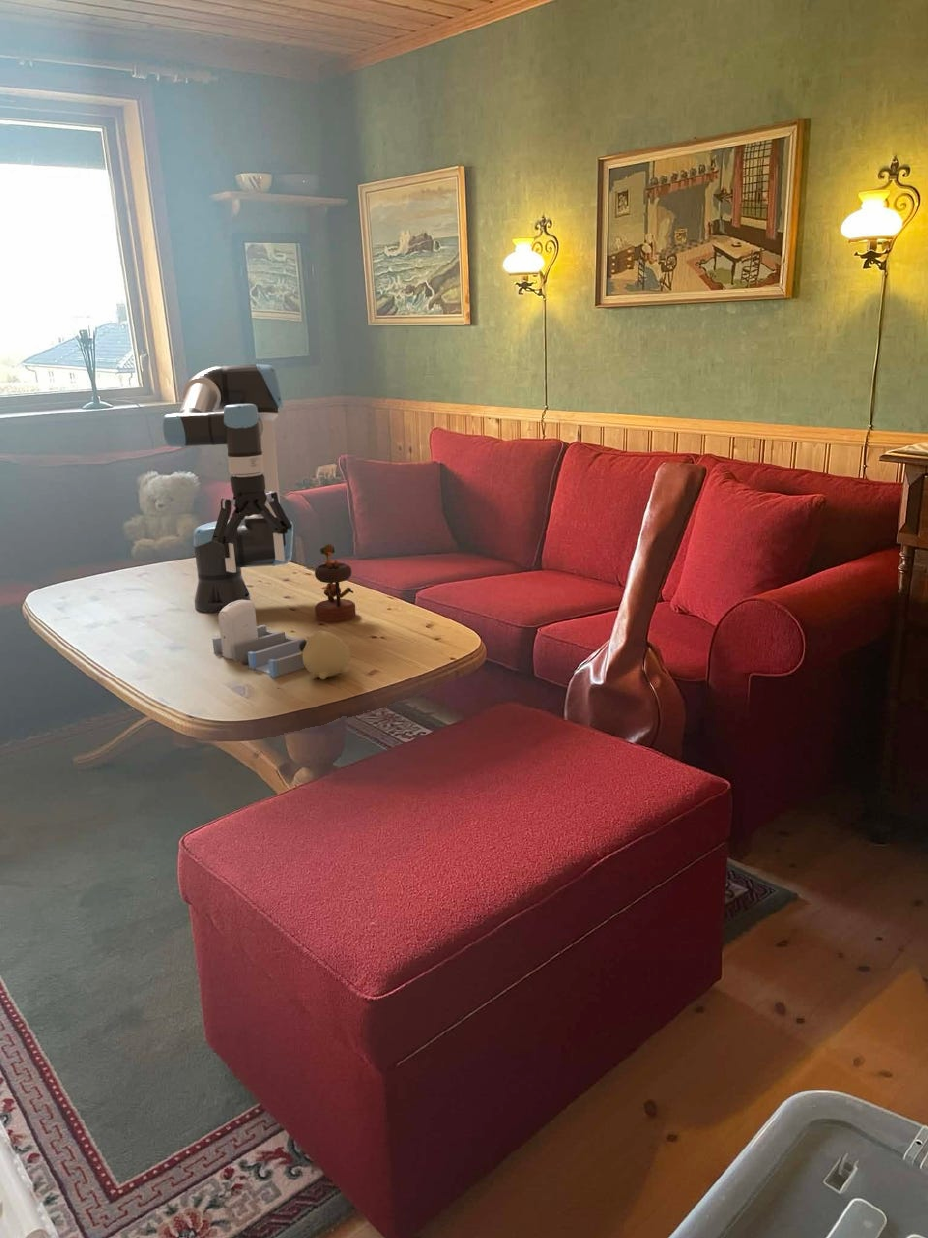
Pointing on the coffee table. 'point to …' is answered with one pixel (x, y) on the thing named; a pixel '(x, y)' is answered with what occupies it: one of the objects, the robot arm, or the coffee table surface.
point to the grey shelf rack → (267, 652)
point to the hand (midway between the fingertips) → (256, 565)
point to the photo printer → (237, 625)
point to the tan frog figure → (324, 655)
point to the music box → (334, 590)
